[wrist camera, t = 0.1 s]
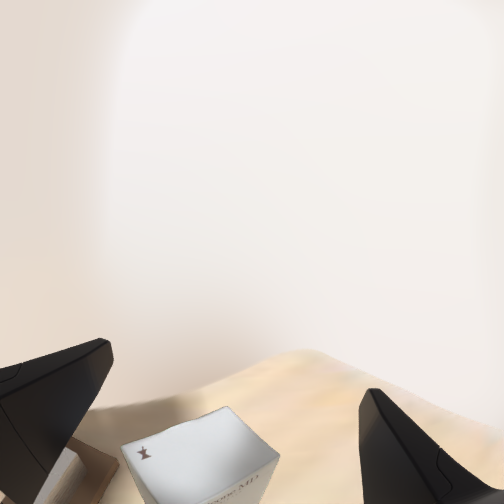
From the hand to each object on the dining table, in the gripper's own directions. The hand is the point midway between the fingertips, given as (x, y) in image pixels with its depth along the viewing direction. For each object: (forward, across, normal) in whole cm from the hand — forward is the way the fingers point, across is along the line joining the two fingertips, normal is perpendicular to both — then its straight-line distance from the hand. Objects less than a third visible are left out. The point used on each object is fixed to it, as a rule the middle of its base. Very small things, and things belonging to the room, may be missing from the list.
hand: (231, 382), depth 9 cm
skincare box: (0, +1, +17) cm, 17 cm away
